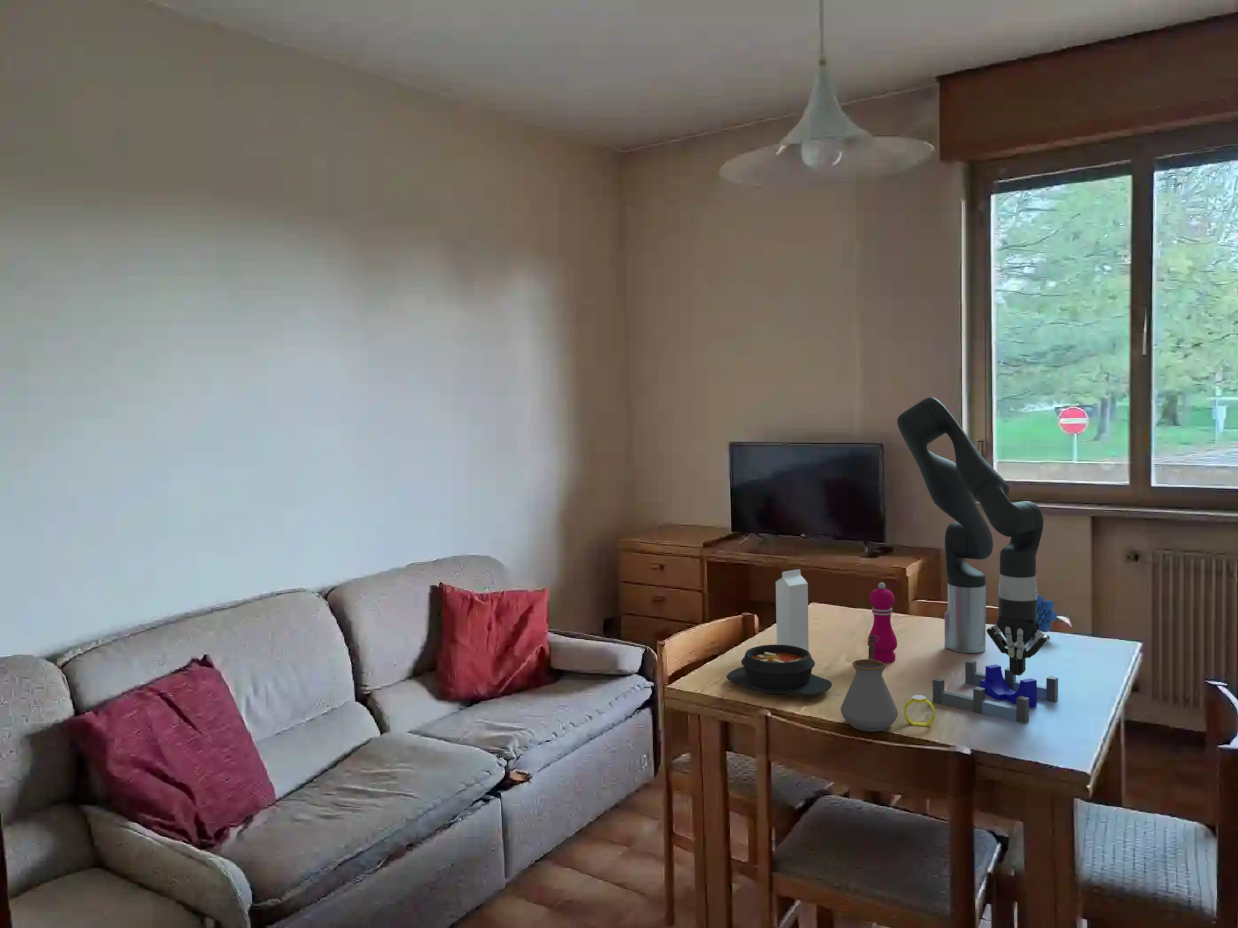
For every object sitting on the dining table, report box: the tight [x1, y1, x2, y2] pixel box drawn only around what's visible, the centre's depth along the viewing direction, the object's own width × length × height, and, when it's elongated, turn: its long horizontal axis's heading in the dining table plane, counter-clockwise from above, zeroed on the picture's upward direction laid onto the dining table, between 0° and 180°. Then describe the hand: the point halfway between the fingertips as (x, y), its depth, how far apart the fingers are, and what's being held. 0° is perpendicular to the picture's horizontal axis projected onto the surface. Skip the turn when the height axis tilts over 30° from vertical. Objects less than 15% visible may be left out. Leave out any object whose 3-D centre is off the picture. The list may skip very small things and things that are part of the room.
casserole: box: [726, 644, 833, 697], centre depth 206 cm, size 25×19×8 cm
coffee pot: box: [840, 634, 899, 732], centre depth 187 cm, size 21×12×15 cm, turn 160°
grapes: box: [1032, 594, 1058, 639], centre depth 239 cm, size 12×7×12 cm, turn 69°
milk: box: [775, 568, 810, 653], centre depth 232 cm, size 6×6×22 cm
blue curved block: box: [979, 664, 1038, 709], centre depth 194 cm, size 12×4×6 cm, turn 18°
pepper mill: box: [867, 582, 898, 664], centre depth 224 cm, size 7×7×20 cm
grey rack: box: [932, 659, 1059, 725], centre depth 193 cm, size 20×18×5 cm
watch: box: [903, 694, 936, 727], centre depth 181 cm, size 6×3×6 cm, turn 71°
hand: (1017, 674), depth 190 cm, fingers closed
